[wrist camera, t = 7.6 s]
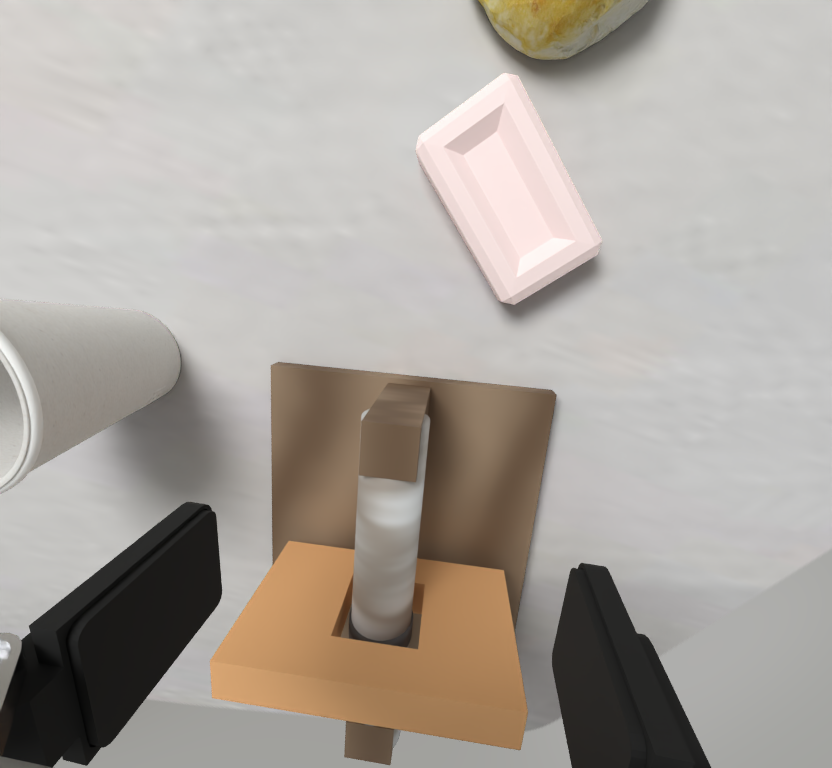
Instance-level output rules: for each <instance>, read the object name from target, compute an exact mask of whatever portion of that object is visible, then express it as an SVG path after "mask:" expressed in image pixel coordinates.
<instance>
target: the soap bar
mask: <svg viewBox="0 0 832 768" xmlns="http://www.w3.org/2000/svg"><path fill="white" fill-rule="evenodd" d="M416 154H417V158H418V161H419V163H420V165H421V167H422V169H423V170H424V172H425V174H426V176H427V177H428V179H429V181H430V183H431V184H432V186H433V188H434V189H435V191H436V193H437V195H438V196H439V198H440V200H441V202H442V203H443V205H444V207H445V209H446V210H447V212H448V214H449V216H450V217H451V219H452V221H453V223H454V224H455V226H456V228H457V230H458V231H459V233H460V235H461V237H462V238H463V240H464V242H465V244H466V245H467V247H468V249H469V251H470V252H471V254H472V256H473V257H474V259H475V261H476V263H477V264H478V266H479V268H480V270H481V271H482V273H483V275H484V277H485V278H486V280H487V282H488V284H489V285H490V287H491V289H492V291H493V292H494V294H495V296H496V298H497V299H498V301H501V302H504V303H509V304H513V305H515V304H517V303H518V302H520V301H522V300H523V299H525V298H527V297H528V296H530V295H532V294H533V293H535V292H536V291H538V290H540V289H541V288H543V287H545V286H546V285H548V284H550V283H551V282H553V281H555V280H556V279H558V278H560V277H561V276H563V275H565V274H566V273H568V272H570V271H571V270H573V269H575V268H576V267H578V266H580V265H581V264H583V263H585V262H586V261H588V260H590V259H591V258H593V257H595V256H596V255H598V253H599V250H600V247H601V244H602V239H601V237H600V235H599V233H598V231H597V229H596V227H595V225H594V223H593V221H592V219H591V217H590V215H589V213H588V211H587V209H586V207H585V205H584V203H583V202H582V200H581V198H580V196H579V194H578V192H577V190H576V188H575V186H574V184H573V182H572V180H571V178H570V176H569V174H568V172H567V170H566V168H565V166H564V164H563V162H562V160H561V159H560V157H559V155H558V153H557V151H556V149H555V147H554V145H553V143H552V141H551V139H550V137H549V135H548V133H547V131H546V129H545V127H544V125H543V123H542V121H541V119H540V117H539V116H538V114H537V112H536V110H535V108H534V106H533V104H532V102H531V100H530V98H529V96H528V94H527V92H526V90H525V88H524V86H523V84H522V82H521V80H520V78H519V76H517V75H512V74H508V73H503V74H502V75H500V76H499V77H498V78H496V79H495V80H494V81H492V82H491V83H490V84H488V85H487V86H485V87H484V88H483V89H481V90H480V91H479V92H477V93H476V94H475V95H473V96H472V97H471V98H469V99H468V100H467V101H465V102H464V103H463V104H461V105H460V106H458V107H457V108H456V109H454V110H453V111H452V112H450V113H449V114H448V115H446V116H445V117H444V118H442V119H441V120H440V121H438V122H437V123H436V124H434V125H433V126H431V127H430V128H429V129H427V130H426V131H425V132H423V133H422V134H421V135H419V136H418V141H417V146H416Z"/></svg>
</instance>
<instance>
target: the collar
mask: <svg viewBox="0 0 832 768" xmlns="http://www.w3.org/2000/svg"><path fill="white" fill-rule="evenodd" d="M354 554H355V550H353V549H346V548H338V547H331V546H324V545H316V544H309V543H302V542H294V541H288V543H287V544H286V546H285V547H284V549H283V550H282V552H281V553H280V555H279V556H278V558H277V559H276V561H275V563H274V564H273V566H272V567H271V569H270V570H269V572H268V573H267V575H266V576H265V578H264V579H263V581H262V582H261V584H260V585H259V587H258V588H257V590H256V591H255V593H254V595H253V596H252V598H251V599H250V601H249V602H248V604H247V605H246V607H245V608H244V610H243V611H242V613H241V614H240V616H239V617H238V619H237V620H236V622H235V624H234V625H233V627H232V628H231V630H230V631H229V633H228V634H227V636H226V637H225V639H224V640H223V642H222V643H221V645H220V646H219V648H218V649H217V651H216V652H215V654H214V656H213V657H212V659H211V660H210V669H211V686H212V698H215V699H221V700H227V701H233V702H239V703H245V704H250V705H256V706H262V707H268V708H274V709H280V710H286V711H292V712H298V713H303V714H309V715H315V716H321V717H327V718H333V719H339V720H345V721H351V722H356V723H362V724H368V725H374V726H380V727H386V728H392V729H398V730H404V731H409V732H416V733H421V734H428V735H433V736H439V737H445V738H451V739H457V740H462V741H468V742H474V743H480V744H486V745H492V746H498V747H504V748H510V749H516V750H521V745H522V740H523V735H524V730H525V725H526V720H527V715H528V710H527V704H526V698H525V692H524V686H523V680H522V674H521V668H520V663H519V657H518V651H517V645H516V639H515V633H514V627H513V621H512V615H511V609H510V603H509V597H508V592H507V586H506V580H505V574H504V570H499V569H492V568H484V567H477V566H470V565H463V564H455V563H448V562H441V561H433V560H426V559H419V558H417V564H416V574H415V584H414V595H413V605H412V611H413V613H416V614H422V617H421V626H420V636H419V646H418V649H412V648H406V647H399V646H393V645H386V644H380V643H373V642H367V641H360V640H354V639H347V638H341V634H342V631H343V628H344V625H345V622H346V619H347V616H348V613H349V610H350V607H351V604H352V593H353V574H354Z"/></svg>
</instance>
